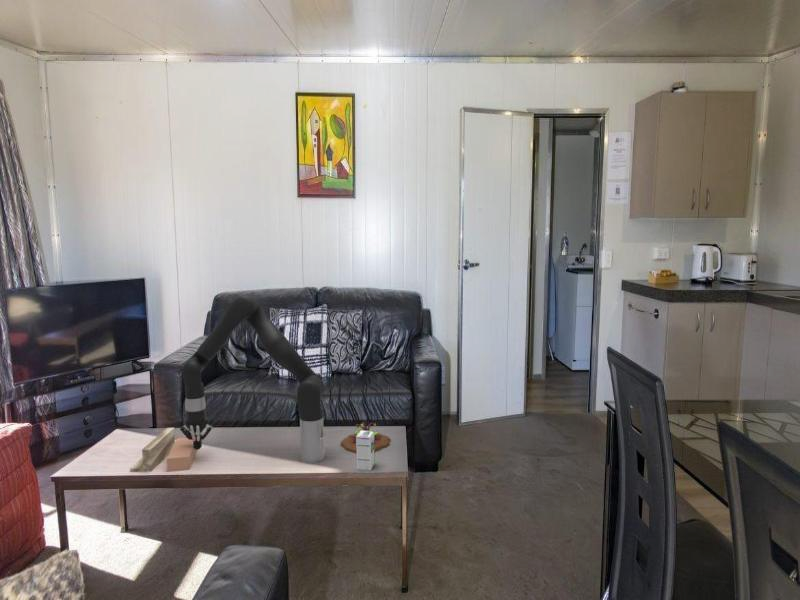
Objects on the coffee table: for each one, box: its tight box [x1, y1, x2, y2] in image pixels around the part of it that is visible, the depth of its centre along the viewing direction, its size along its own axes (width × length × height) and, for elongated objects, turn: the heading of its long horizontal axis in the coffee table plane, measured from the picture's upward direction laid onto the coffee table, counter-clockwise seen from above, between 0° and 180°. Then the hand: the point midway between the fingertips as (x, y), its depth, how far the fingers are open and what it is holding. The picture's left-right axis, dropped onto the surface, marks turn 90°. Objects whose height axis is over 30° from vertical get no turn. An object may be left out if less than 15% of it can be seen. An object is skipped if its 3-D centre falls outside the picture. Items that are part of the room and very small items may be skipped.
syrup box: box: [356, 430, 376, 471], centre depth 197 cm, size 6×6×14 cm
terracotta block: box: [166, 437, 199, 473], centre depth 205 cm, size 8×20×6 cm, turn 13°
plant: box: [340, 421, 391, 454], centre depth 219 cm, size 20×20×11 cm
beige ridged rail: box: [129, 427, 176, 473], centre depth 205 cm, size 8×22×9 cm, turn 1°
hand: (197, 448), depth 206 cm, fingers closed
